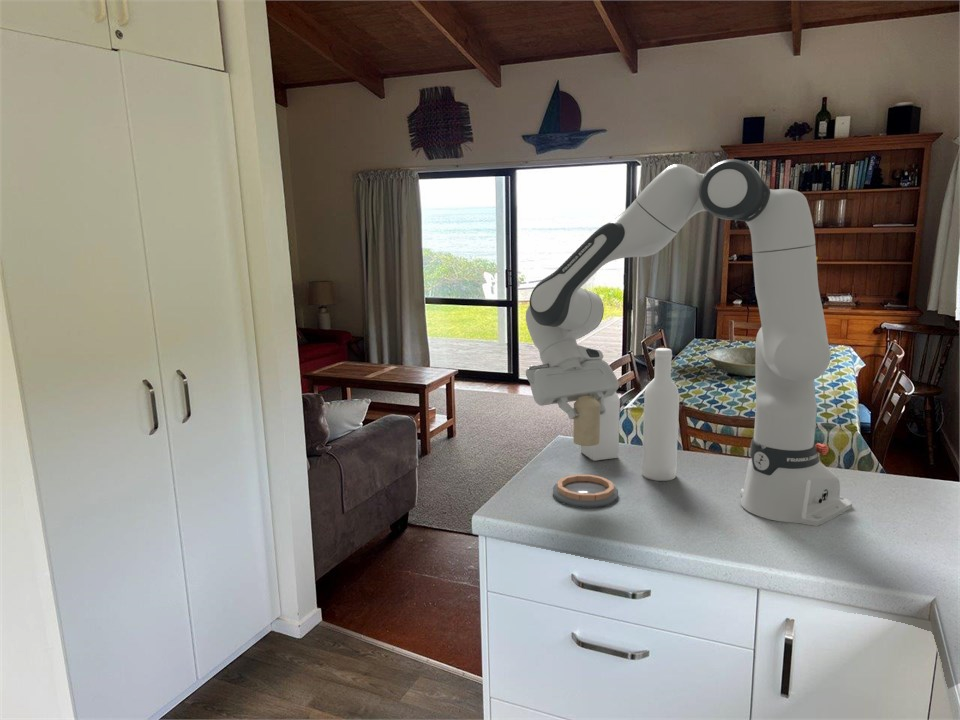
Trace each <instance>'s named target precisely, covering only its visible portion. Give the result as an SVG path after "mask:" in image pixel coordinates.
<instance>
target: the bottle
mask: <svg viewBox="0 0 960 720" xmlns="http://www.w3.org/2000/svg"><path fill="white" fill-rule="evenodd" d="M672 359H673V350H672V349H671V348H667V347H666V348H665V347H658V348H656V349H655V353H654V378H653V380H651V381H650V382H649V383H648V384H647V386H646V388H645V391H644V397H643V398H644V399H643V400H644V404H643V429H642V431H643V432H642V433H643V434H642V459H641V475H642V476H643V477H644V478H646V479H648V480H652V481H658V482H667V481H668V482H669V481H672V480H674V479H675V478H676V477H677V469H678V464H677V461H678V460H677V459H678V458H677V457H678V441H679V440H678V437H679V435H678V434H679V417H680V416H679V415H680V414H679V413H680V412H679V411H680V392H679V389H678V386H677V384H676V383H675V382H674V381H673V380H672V377H671V376H672Z"/></svg>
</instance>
